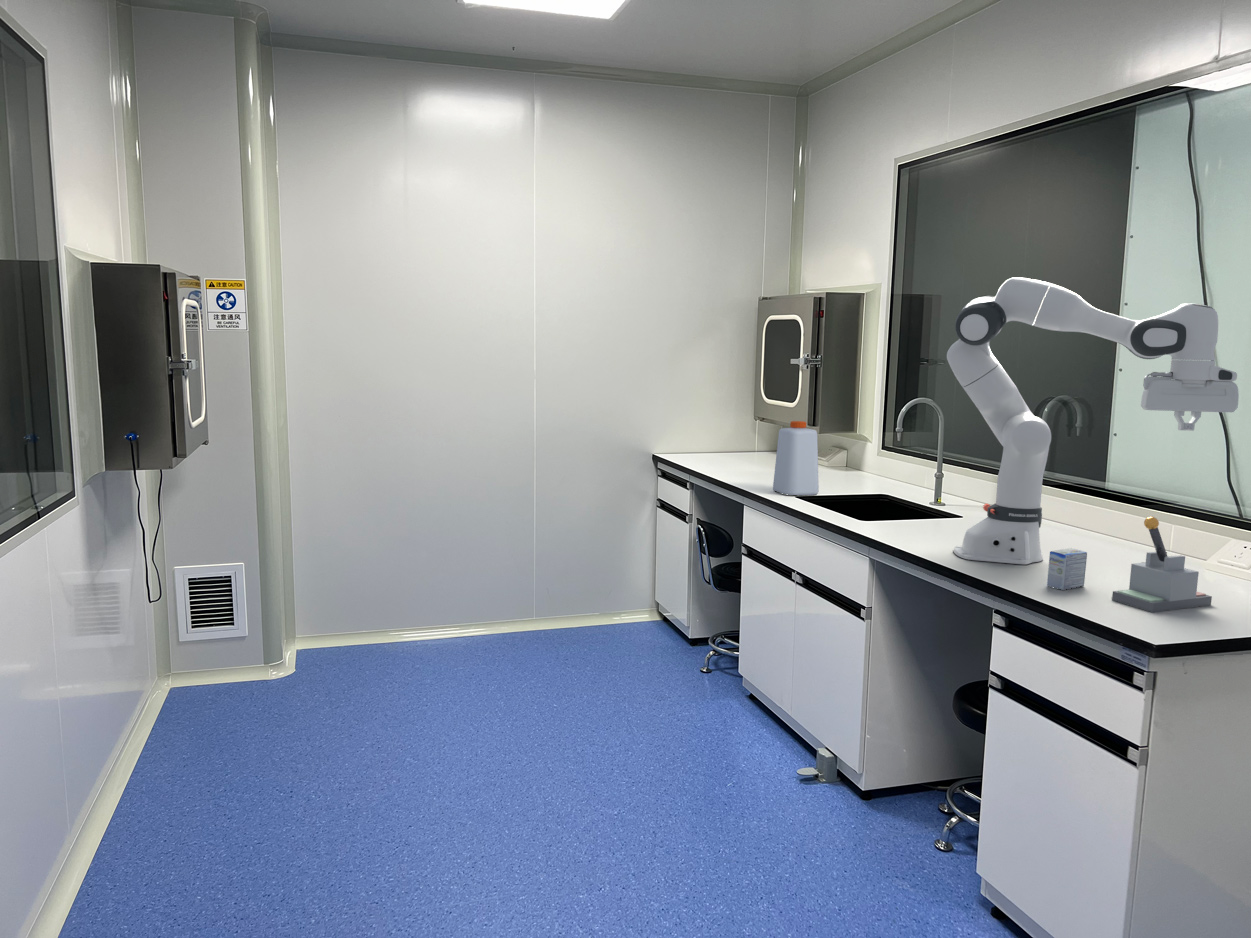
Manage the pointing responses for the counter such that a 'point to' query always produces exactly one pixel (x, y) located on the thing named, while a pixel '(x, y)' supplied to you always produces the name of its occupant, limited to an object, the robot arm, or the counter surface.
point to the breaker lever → (1156, 537)
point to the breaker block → (1162, 585)
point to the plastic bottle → (797, 461)
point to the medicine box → (1067, 568)
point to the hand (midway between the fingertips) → (1185, 430)
